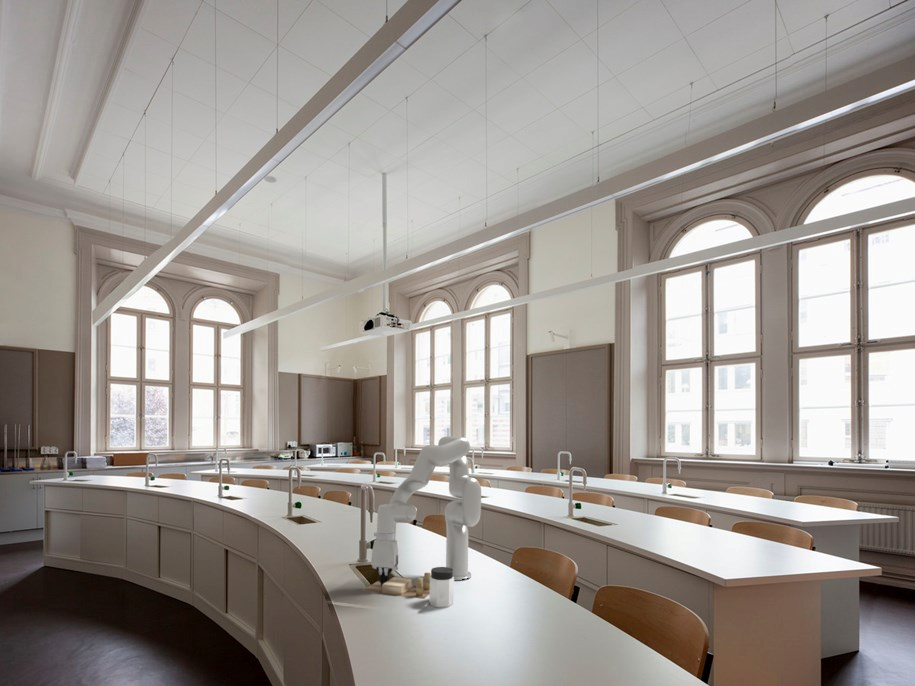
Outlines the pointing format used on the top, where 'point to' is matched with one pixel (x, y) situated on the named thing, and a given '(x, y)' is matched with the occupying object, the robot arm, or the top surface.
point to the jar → (441, 587)
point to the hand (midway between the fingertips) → (384, 585)
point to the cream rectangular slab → (397, 585)
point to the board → (413, 592)
